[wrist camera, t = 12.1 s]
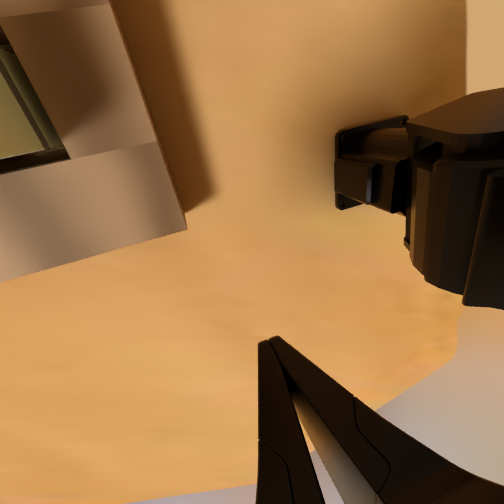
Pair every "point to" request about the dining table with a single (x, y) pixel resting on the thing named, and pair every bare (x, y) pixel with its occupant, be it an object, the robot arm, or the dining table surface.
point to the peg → (22, 112)
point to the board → (82, 142)
